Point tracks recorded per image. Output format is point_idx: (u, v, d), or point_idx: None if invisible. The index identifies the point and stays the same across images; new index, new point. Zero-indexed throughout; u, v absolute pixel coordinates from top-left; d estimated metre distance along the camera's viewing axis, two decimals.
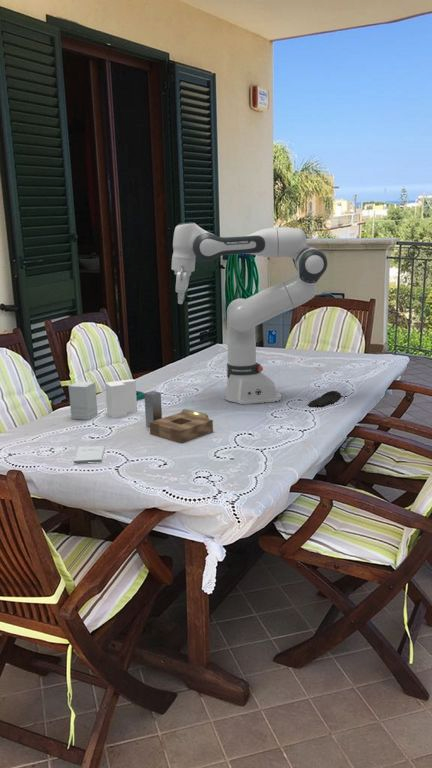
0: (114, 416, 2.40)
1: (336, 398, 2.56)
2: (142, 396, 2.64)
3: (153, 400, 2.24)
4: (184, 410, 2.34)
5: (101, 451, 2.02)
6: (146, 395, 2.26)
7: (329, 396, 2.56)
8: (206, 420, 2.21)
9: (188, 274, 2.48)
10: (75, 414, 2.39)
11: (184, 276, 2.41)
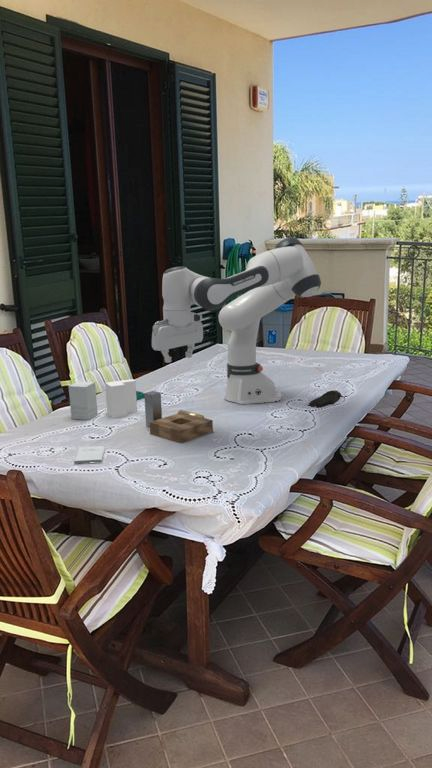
0: (114, 416, 2.40)
1: (336, 397, 2.56)
2: (141, 396, 2.65)
3: (153, 400, 2.24)
4: None
5: (102, 451, 2.02)
6: (146, 395, 2.26)
7: (329, 396, 2.56)
8: (206, 420, 2.21)
9: (177, 328, 2.10)
10: (75, 414, 2.39)
11: (158, 331, 2.05)
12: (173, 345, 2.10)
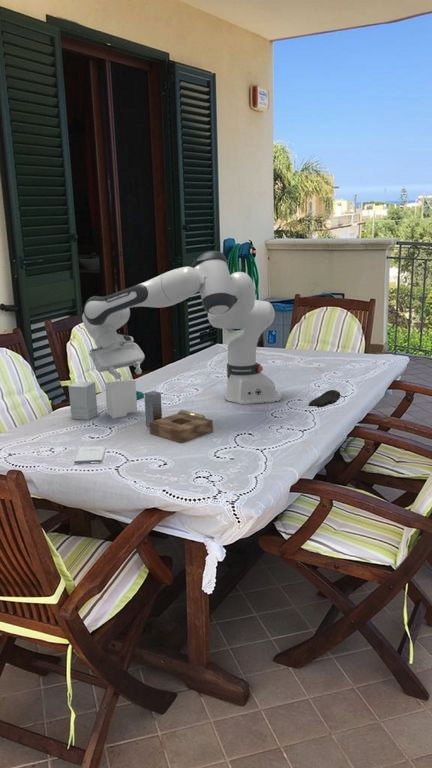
0: (114, 416, 2.40)
1: (336, 397, 2.56)
2: (141, 396, 2.65)
3: (153, 400, 2.24)
4: None
5: (102, 451, 2.02)
6: (146, 395, 2.26)
7: (329, 395, 2.56)
8: (206, 420, 2.21)
9: (112, 348, 2.34)
10: (75, 414, 2.39)
11: (94, 354, 2.29)
12: (115, 362, 2.31)
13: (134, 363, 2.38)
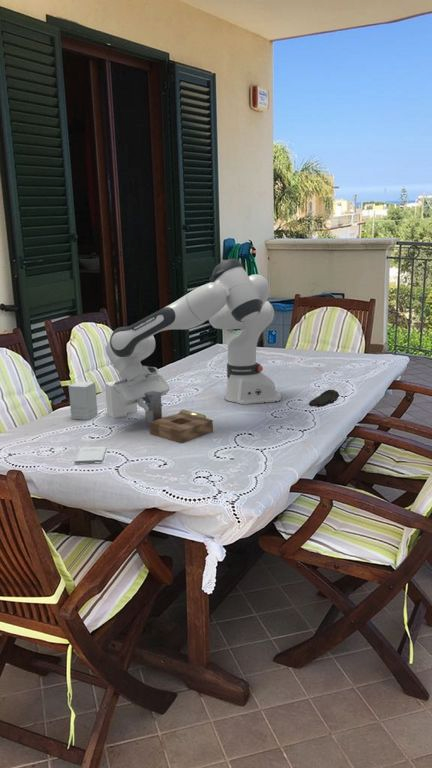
0: (114, 416, 2.40)
1: (335, 397, 2.57)
2: None
3: (153, 399, 2.24)
4: None
5: (102, 451, 2.02)
6: (146, 395, 2.26)
7: (328, 395, 2.57)
8: (206, 420, 2.21)
9: (137, 381, 2.28)
10: (75, 414, 2.39)
11: (119, 387, 2.23)
12: (140, 395, 2.25)
13: None
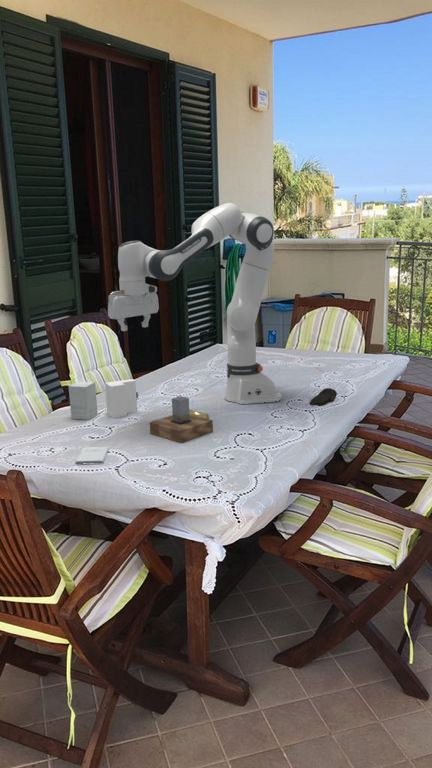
0: (114, 416, 2.40)
1: (333, 395, 2.59)
2: (136, 395, 2.66)
3: (181, 405, 2.17)
4: None
5: (104, 452, 2.02)
6: (174, 401, 2.18)
7: (327, 393, 2.59)
8: (206, 420, 2.21)
9: (132, 298, 2.23)
10: (75, 414, 2.39)
11: (113, 301, 2.19)
12: (128, 314, 2.24)
13: (145, 314, 2.32)
